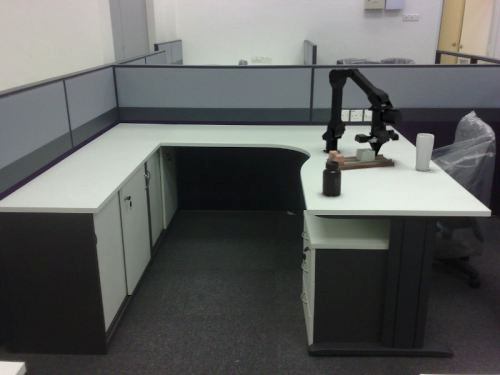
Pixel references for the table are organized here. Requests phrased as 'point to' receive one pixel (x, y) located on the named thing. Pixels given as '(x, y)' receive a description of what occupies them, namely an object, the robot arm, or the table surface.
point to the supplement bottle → (331, 179)
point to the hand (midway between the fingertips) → (375, 156)
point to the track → (353, 163)
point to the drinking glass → (424, 151)
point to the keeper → (365, 154)
